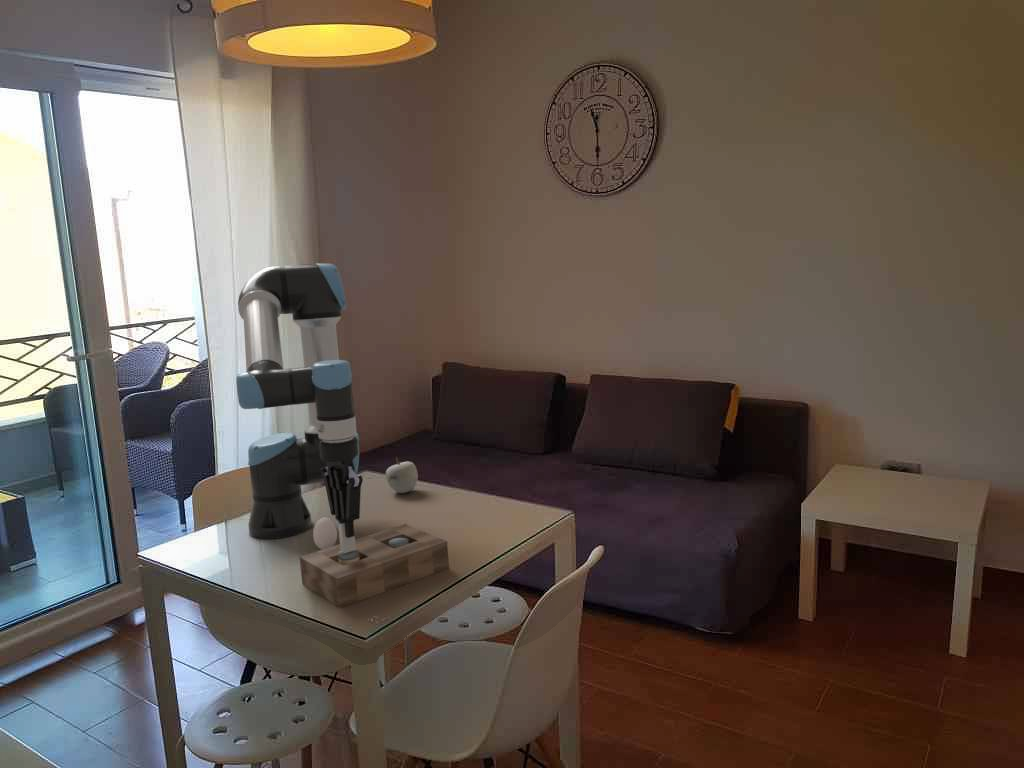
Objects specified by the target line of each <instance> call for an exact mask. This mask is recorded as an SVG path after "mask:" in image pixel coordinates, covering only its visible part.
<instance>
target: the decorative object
mask: <svg viewBox="0 0 1024 768" xmlns="http://www.w3.org/2000/svg"><path fill="white" fill-rule="evenodd" d="M395 461H396V463H395V464H393V465H390V466H389V467H388V468H387V469H386V471H385V476H386V477H385V478H386V481H387V483H388V487H389V488H391V489H392V491H394V492H396V493H398V494H405V493H406V494H407V493H409V492H410V491H413V490H414V489H415V487H416V486H417V485H418V484H417V483H418V480H419V474H418V469H417V467H416V465H415V464H414V462H412V461H403V462H402V461H401V462H400V461H399V458H398V457H395Z"/></svg>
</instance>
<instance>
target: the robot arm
mask: <svg viewBox="0 0 1024 768" xmlns="http://www.w3.org/2000/svg"><path fill="white" fill-rule="evenodd" d="M345 294H346V293H345V289H344V286H343V281H342V277H341V275H340V272H339V269H338V267H337V265H334V264H333V263H318V262H316V263H307V264H306V263H305V264H294V265H293V264H291V265H290V264H289V265H274V266H270V267H265V268H263V269H261V270H260V271H258V272H256V273H255V274H254V275H253V276H251V277H250V278H249V279H248V280H247V282H246V283H245V284H244V285H243V287H242V288H241V291H240V293H239V294H238V295H239V296H238V301H237V306H238V310H237V311H238V313H239V316H240V317H241V319H242V320H243V330H244V332H243V333H244V334H243V335H244V350H245V351H244V352H245V353H244V354H245V368H246V369H245V370H246V372H242V373H238V374H237V376H236V377H235V380H236V391H237V392H236V393H237V400H238V405H239V406H240V407H241V408H242V409H244V410H251V409H253V410H255V409H257V410H262V409H268V408H269V409H270V408H277V407H285V406H294V405H304V404H305V405H306V404H307V406H308V408H307V409H308V419H309V423H308V425H307V426H306V427H305V429H304V437H301V438H300V437H299V438H297V436H296V434H295V433H294V432H281V433H274V434H272V435H268V436H265V437H261V438H259V439H257V440H255V441H253V442H252V443H251V444H250V445H249V446H248V450H247V454H248V462H247V465H248V466H249V472H250V475H249V476H250V481H251V482H250V483H251V484H250V485H251V492H252V493H251V494H252V506H251V511H250V515H249V521H248V532H249V535H250V536H251V537H254V538H257V539H265V540H266V539H269V540H270V539H280V538H286V537H291V536H295V535H298V534H300V533H303V532H305V531H307V530H309V528H311V527H312V525H313V524H312V523H313V522H312V515H311V513H310V510H309V507H307V503H306V501H305V499H304V497H303V495H302V486H305V485H306V486H307V485H312V484H320V483H324V485H325V490H326V496H327V501H328V506H329V510H330V514H331V515H332V516H334V517H335V519H336V521H337V526H338V539H339V544H340V550H341V552H342V553H344V554H345V553H348V552H351V551H354V550H356V544H355V539H356V536H355V523H354V522H355V521H357V520H359V519H360V516H361V515H360V513H361V489H362V484H363V481H364V478H363V476H362V475H357V473H358V470H359V463H360V462H359V461H360V436H359V433H358V432H357V420H356V413H355V403H354V389H353V388H354V387H353V380H354V379H353V375H352V370H351V363H350V362H349V361H347V360H344V359H343V360H342V359H340V356H339V344H338V333H337V324H338V322H339V321H340V320H341V318H342V313H341V311H344V310H347V302H346V295H345ZM288 314H289V315H291V314H292V322H293V323H295V325H297V326H298V327H299V330H300V338H301V348H302V356H303V357H302V358H303V367H293V368H284V362H283V361H284V360H283V353H282V342H281V335H280V325H279V317H280V315H288Z"/></svg>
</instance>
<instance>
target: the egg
mask: <svg viewBox="0 0 1024 768" xmlns="http://www.w3.org/2000/svg"><path fill="white" fill-rule="evenodd" d="M312 537H313V541H314V543H315V545H316V547H317V548H319V550H323V549H327V548H330V547H333V546H335V545H336V542H337V541H338V531H337V528H336V525H335V523H334V522H333V521H332V520H331V519H330V518H329V517H321V518H319V519H318V520H317V521H316V523H315V524H314V527H313V532H312Z"/></svg>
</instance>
